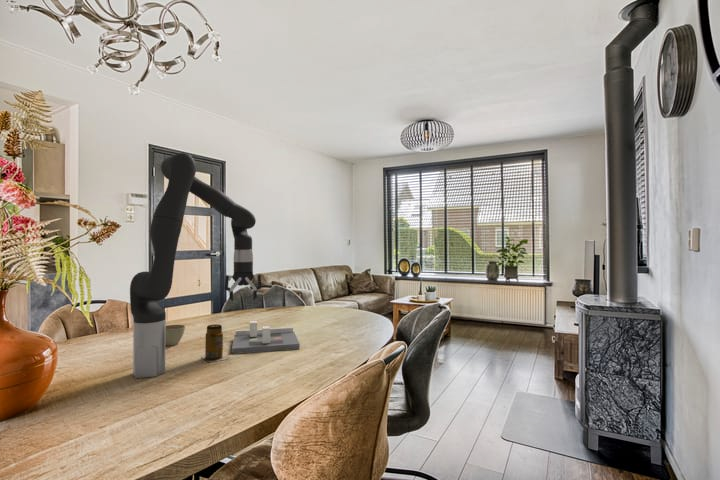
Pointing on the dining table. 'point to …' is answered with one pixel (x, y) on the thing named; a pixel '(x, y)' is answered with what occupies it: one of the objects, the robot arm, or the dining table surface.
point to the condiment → (214, 344)
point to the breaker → (253, 328)
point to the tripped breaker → (266, 334)
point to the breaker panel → (278, 341)
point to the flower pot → (174, 334)
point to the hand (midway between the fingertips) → (243, 300)
